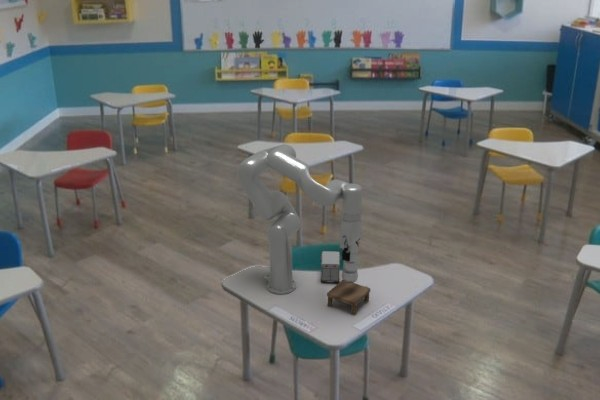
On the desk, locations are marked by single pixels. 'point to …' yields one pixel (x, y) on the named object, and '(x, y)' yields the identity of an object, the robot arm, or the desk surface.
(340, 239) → the robot arm
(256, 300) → the desk surface
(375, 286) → the desk surface
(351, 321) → the desk surface
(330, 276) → the toy vehicle
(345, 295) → the walnut stand
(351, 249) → the plastic bottle
